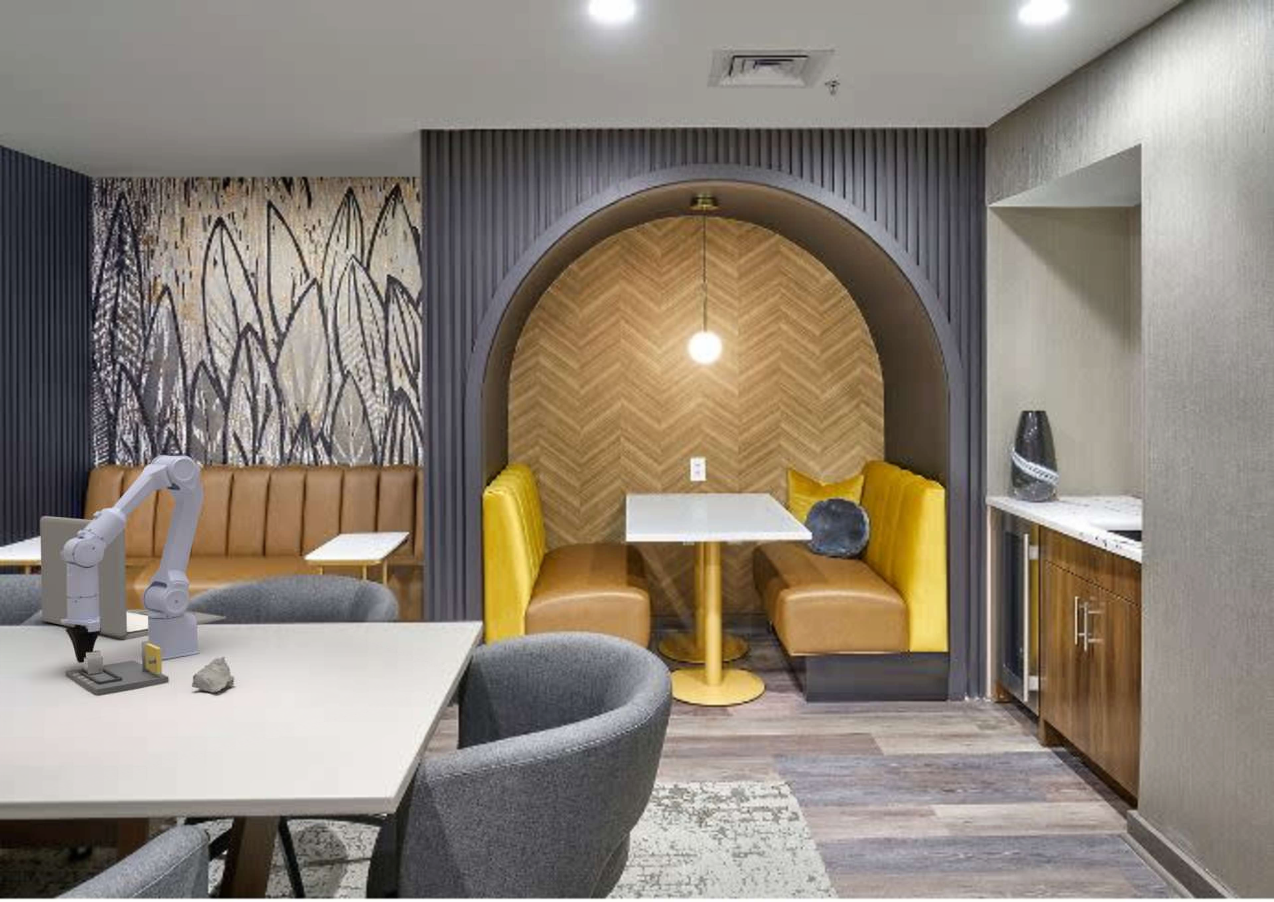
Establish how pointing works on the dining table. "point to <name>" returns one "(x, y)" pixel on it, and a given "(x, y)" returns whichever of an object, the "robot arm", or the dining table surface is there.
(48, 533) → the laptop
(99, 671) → the fader knob
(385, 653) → the dining table surface
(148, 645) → the door
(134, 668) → the console
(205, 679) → the stone
